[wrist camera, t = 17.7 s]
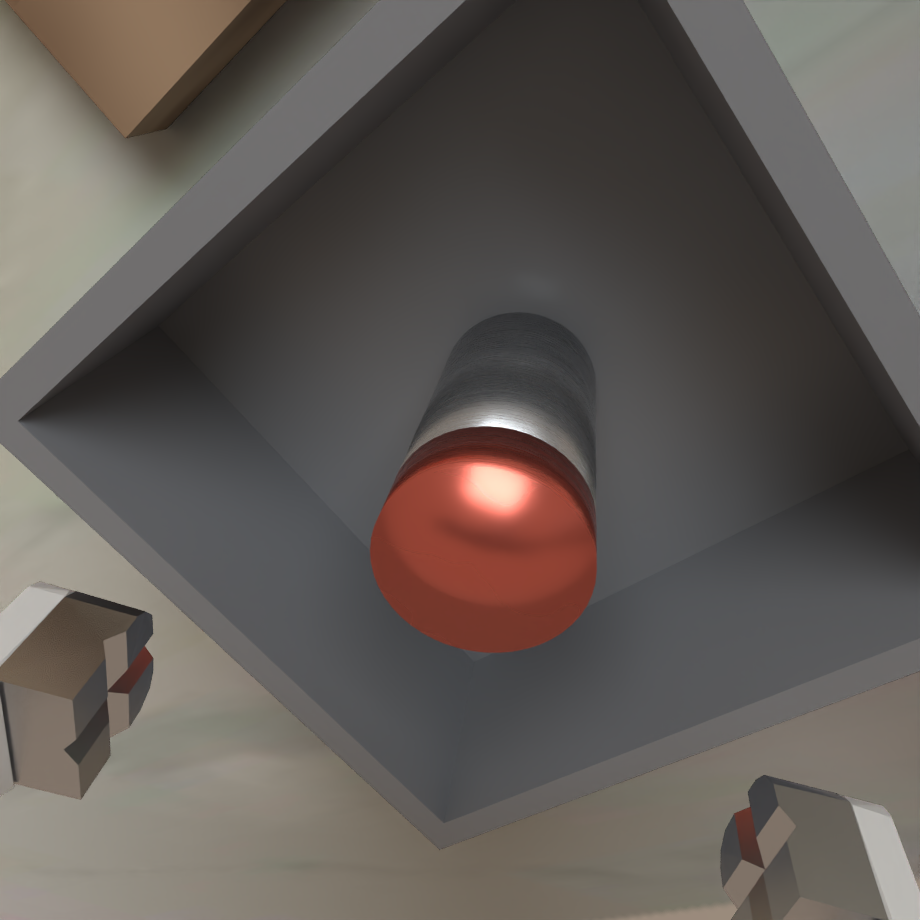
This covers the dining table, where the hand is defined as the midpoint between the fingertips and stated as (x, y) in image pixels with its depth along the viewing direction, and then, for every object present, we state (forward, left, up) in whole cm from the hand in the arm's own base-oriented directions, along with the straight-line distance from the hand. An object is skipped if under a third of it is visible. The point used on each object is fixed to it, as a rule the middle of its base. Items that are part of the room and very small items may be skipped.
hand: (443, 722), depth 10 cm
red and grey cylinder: (0, 0, -12) cm, 12 cm away
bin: (0, 0, -13) cm, 13 cm away
